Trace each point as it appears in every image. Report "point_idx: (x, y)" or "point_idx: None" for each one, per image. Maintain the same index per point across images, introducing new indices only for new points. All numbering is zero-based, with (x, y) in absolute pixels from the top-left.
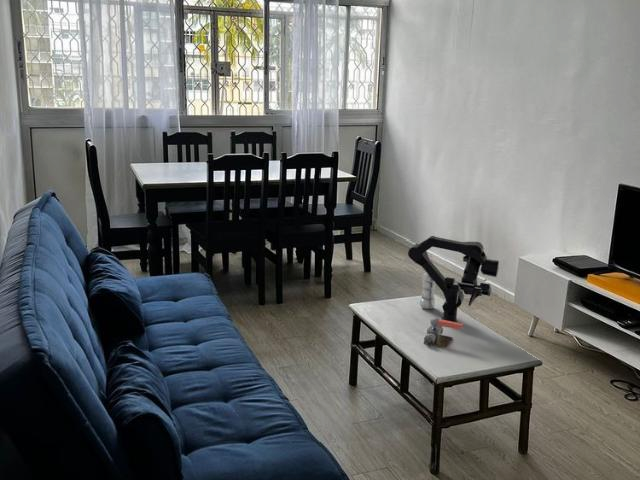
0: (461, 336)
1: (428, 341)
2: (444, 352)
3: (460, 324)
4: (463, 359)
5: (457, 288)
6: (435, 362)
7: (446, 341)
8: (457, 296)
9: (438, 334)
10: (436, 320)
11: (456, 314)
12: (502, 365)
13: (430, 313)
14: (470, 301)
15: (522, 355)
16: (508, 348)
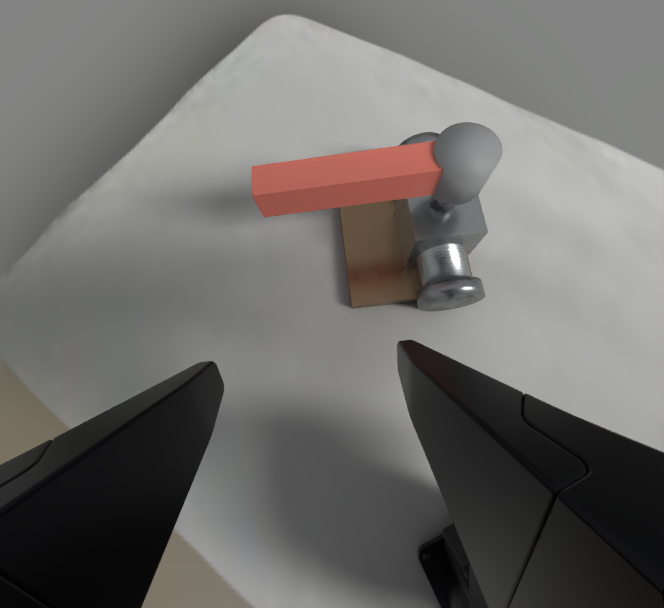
0: (324, 372)
1: None
2: None
3: (263, 175)
4: (238, 153)
5: (624, 551)
6: (323, 77)
7: (357, 240)
8: (440, 430)
9: (402, 206)
10: (442, 133)
11: None
12: (90, 194)
13: None
14: (163, 386)
15: (11, 332)
16: (75, 371)
